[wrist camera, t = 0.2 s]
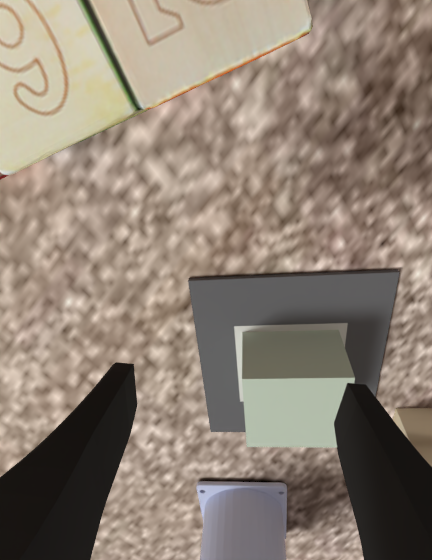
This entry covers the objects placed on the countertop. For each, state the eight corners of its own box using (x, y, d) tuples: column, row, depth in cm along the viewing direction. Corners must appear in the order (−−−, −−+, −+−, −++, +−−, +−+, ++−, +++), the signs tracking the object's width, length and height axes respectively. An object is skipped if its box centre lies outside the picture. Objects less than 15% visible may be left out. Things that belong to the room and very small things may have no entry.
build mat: (367, 428, 28) (368, 432, 28) (211, 428, 29) (210, 431, 29) (397, 269, 21) (399, 272, 20) (189, 278, 22) (188, 281, 22)
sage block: (331, 396, 26) (344, 447, 23) (246, 396, 27) (246, 446, 23) (338, 329, 23) (354, 377, 19) (242, 332, 24) (241, 379, 20)
